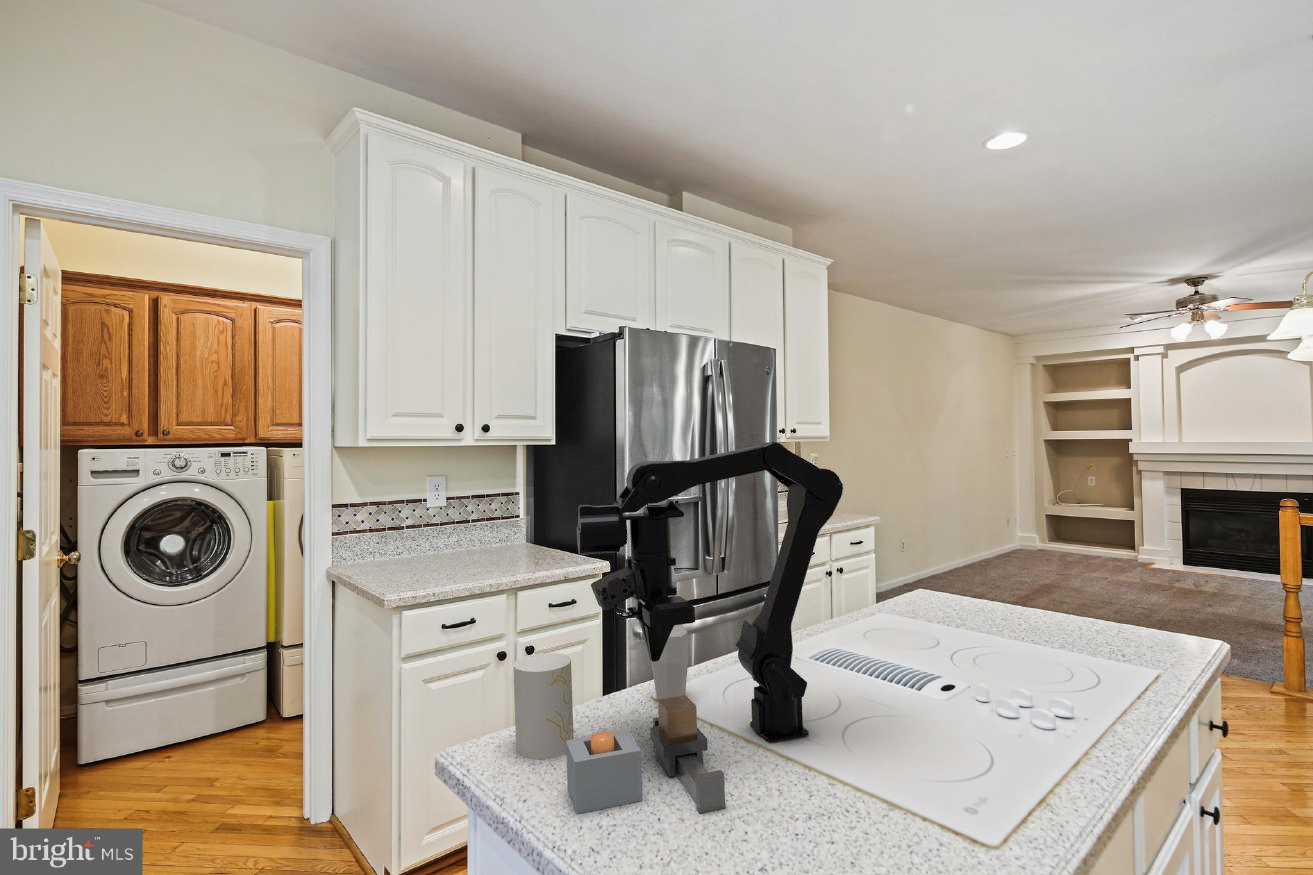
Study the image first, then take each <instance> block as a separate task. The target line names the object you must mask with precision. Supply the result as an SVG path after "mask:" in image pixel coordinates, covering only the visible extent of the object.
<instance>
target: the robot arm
mask: <svg viewBox="0 0 1313 875" xmlns="http://www.w3.org/2000/svg"><path fill="white" fill-rule="evenodd" d="M763 471H766V472H767V473H768V474H769V475H770V476H772V477H773V478H774V479H775V480H776V481H777V482H778V483H780V484H782V485H783V486H784V487H786V488H787V489H788V490H787V495H786V511H787V513H786V514H787V524H786V529H785V531H784V535H783V537H782V538H783V539H782V541H781V546H780V548H779V551H778V555H777V558H776V561H775V565H774V568H773V571H772V575H771V578H770V581H769V584H768V588H767V591H766V595H765V597H764V601H763V604H762V607H761V608H762V609H761V611H760V613H759V615H758V616H757V617H756V618H755V619H754V621H753V622H752V623H751V622H749V621H747V620H743V623H742V627H741V633H740V636H739V639H738V640H737V641H736V643H735V647H736V648H738V652H737V658H738V660H739V664H740V665H741V667H743V669H745V671H746V672H748V674H750V675H751V678H752V679H753V681H754V682H756V683H757V684H758V686H754V687H753V698H751V700H750V701H751V703H750V704H751V706H750V707H751V709H750V710H751V721H750V723H749V724H750V727H752V729H754V730H755V732H757V733H758V734H759V735H760V736H761V737H762V738H764V739H765V740H766V741H767V742H769V743H774V742H780V741H784V740H789V739H797V738H800V737H801V738H802V737H807V736H809V733H810V732H809V730H808V729H807V728H806V727H804V722H803V719H804V718H803V698H804V697H805V693H806V690H807V686H808V682H807V681H806V680H805V679H804V678H803V677H802V676H801V675H800V674H799V673H797V672H796V671H795V669H793V668H792V666H791V665H792V659H793V658H792V657H793V653H794V652H793V650H794V648H793V647H794V645H793V634H792V625H793V620H794V617H795V612H796V610H797V607H798V603H799V600H800V597H801V593H802V590H803V587H804V583H805V580H806V576H807V573H808V569H809V566H810V563H811V560H812V557H813V553H814V550H815V546H816V543H817V540H818V537H819V533H820V531H821V530H822V529H823V527H824V526H825V525H826V524H827V523H828V521H829V520H830V518H832V516H833V515H834V513H835V511H836V509H837V507H838V504H839V503H840V501H841V498H842V496H843V492H844V484H843V482H842V481H841V479H840V476H839V475H838V474H837V473H836V472H835V471H833V470H831V469H829V468H823V467H822V468H819V467H818V466H817V465H815V464H814V463H813V462H811V461H809V460H807V459H806V458H803V457H801V456H799V455H798V454H796V453H794V452H792V451H790V450H789V449H788V448H786V447H785V446H784V445H783V444H782V443H779V442H778V441H777V442H776V441H773V442H772V441H771V442H770V441H769V442H767V441H766V442H764V441H763V442H761V443H759V444H756V445H753V446H752V445H751V446H748V447H744V448H740V449H733V450H729V451H724V452H720V453H715V454H710V455H706V456H705V455H704V456H700V457H696V458H692V459H685V460H683V459H682V460H646V461H645V460H643V461H639V462H637V463H635V464H634V465H633V464H632V466H631V467H630V469H629V471H628V472H627V474H626V478H625V481H626V483H625V486H624V488H623V490H622V491H621V493H620V494H619V495H618V497H617V498H616V500H615V502H614V503H613V504H609V505H608V504H607V505H606V504H605V505H604V504H603V505H590V504H580V505H578V507H577V508H578V516H577V526H576V542H577V551H578V555H579V556H581V555H584V556H585V555H597V554H611V553H612V554H613V553H620V552H621V551H620V550H621V548H624V547H625V545H627V544H628V521H629V533H630V534H629V535H630V555H628V556H627V557H626V559H625V567H624V568H622V569H619V570H616V571H613V572H611V573H610V574H608V575H605V576H604V577H602V578H599V579H597V580H594V581H593V582H592V583H591V584H590V587H591V590H592V592H593V594H594V597H595V600H596V602H597V604H598V606H599V607H600V608H601V609H602V610H603V611H608V610H609V611H610V610H612V609H613V608H614V607H615V606H617V605H618V604H620V603H623V602H625V601H626V600H628V599H631V601H632V602H631V603H632V607H631V606H630V607H626V610H627V612H628V613H630V614H631V615H632V616H634V618H635V619H637V620H638V622H639V625H640V628H641V632H642V635H643V639H644V642H645V645H646V649H647V654H648V657H649V660H650V662H651V661H652V662H655V661H659V659H660V657H661V655H662V652H663V650H664V647H665V645H666V643H667V640H668V638H669V636H670V633H671V631H672V629H673V627H674V625H681V624H682V625H687V624H694V623H696V609H695V608H696V607H695V606H694V605H692V603H691V602H689V601H688V600H687V599H685V598H684V597H682V596H680V595H678V589H677V588H678V587H677V588H676V587H675V586H673V585H672V567H673V566H677V557H674V556H672V535H671V533H672V532H671V519H672V518H673V519H674V518H683V517H685V512H684V511H682V510H681V509H680V508H679V507H678V506H677V505H676V504H675V502H674V501H673V500H672V499H671V498H673V497H675V496H679V495H680V494H682V493H684V492H685V491H688V490H689V489H692V488H695V487H696V486H699V485H705V484H709V483H714V482H719V481H723V480H727V479H731V478H737V477H741V476H746V475H750V474H754V473H755V474H756V473H759V472H763ZM664 501H666V502H665V503H664V504H663V505H652V506H651V505H649V506H648V504H658V503H661V502H664ZM642 508H643V510H642V512H639V511H640V510H641V509H642ZM637 512H639V513H637ZM672 595H676V596H674V597H668V596H672Z"/></svg>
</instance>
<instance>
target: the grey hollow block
mask: <svg viewBox="0 0 1313 875" xmlns="http://www.w3.org/2000/svg"><path fill="white" fill-rule="evenodd" d="M611 733H612V734H613V735H614V751H612V752H607V753H601V754H595V755H591V736H592V735H591V736H584V737H579V738H574V739H573V740H567V741H566V753H565V754H566V780H567V781H566V783H567V791H568V793H569V797H570V800H571V803H572V805H573V808H574V811H575V814H576V815H579V814H584V813H589V812H595V811H598V810H604V809H607V808H614V807H618V806H624V805H627V804H634V803H638V802H642V801H643V781H642V780H643V779H642V776H643V774H642V750H641V748H640V747H639V745H638V744H637V741H635V739H634V737H633V736H632V734H631V733H630V731H629V730H621V731H615V732H611Z"/></svg>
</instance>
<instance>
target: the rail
mask: <svg viewBox="0 0 1313 875" xmlns="http://www.w3.org/2000/svg"><path fill="white" fill-rule="evenodd" d="M656 726H659V716H657V717H652V727H656ZM653 748H654V749H655V745H654V744H653ZM675 771H676V775H675V776H676V777H677V778H678V779H679V781H680V782H681V784H682V785H683V786H684V789H686V791H687V792H688V794H689V795H690V797H691V798H692V800H693V801H694V803H695V804H696V811H697V812H698V813H699V814H705V813H709V812H714V811H719V810H723V809H726V791H725V789H726V788H725V786H726V784H725V772H724V771H722V769H718V770H712V771H708V769H707V768H706V767H705V766H704V763H703V764H702V763H701V762H700V761H699V759H698V758H697V757H696V756H695V754H694V753H690V754H684V755H679V756H675Z"/></svg>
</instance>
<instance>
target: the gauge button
mask: <svg viewBox="0 0 1313 875" xmlns="http://www.w3.org/2000/svg"><path fill="white" fill-rule="evenodd" d="M612 733H613V732H611V731H610V732H609V731H599V732H595V733H592V735H591V755H595V754H601V753H607V752H612V751H614V735H613V734H612Z"/></svg>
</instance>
